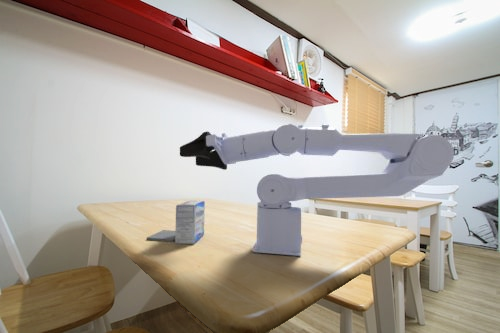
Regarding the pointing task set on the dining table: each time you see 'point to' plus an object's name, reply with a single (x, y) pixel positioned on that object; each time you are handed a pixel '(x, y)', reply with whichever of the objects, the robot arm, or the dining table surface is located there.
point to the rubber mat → (163, 236)
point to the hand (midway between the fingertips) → (188, 156)
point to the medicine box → (189, 222)
